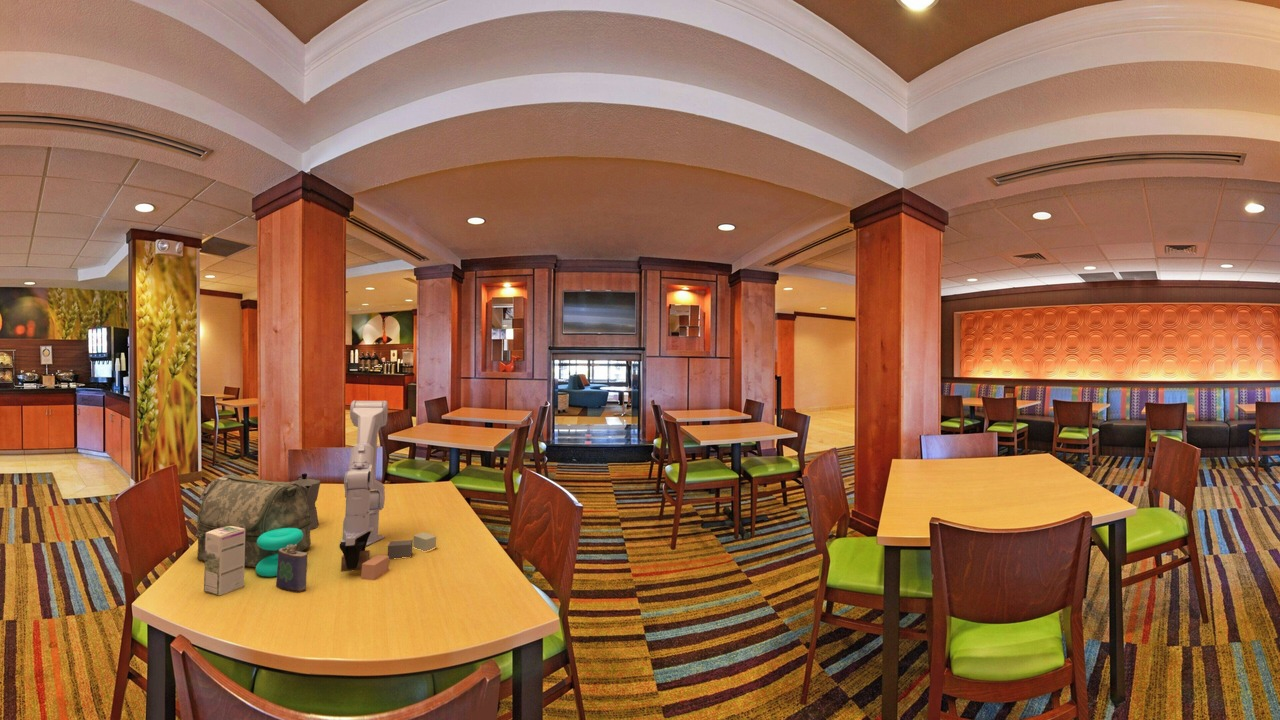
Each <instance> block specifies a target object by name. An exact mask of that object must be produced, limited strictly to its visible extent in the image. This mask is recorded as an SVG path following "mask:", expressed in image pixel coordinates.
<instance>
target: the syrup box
mask: <svg viewBox="0 0 1280 720" xmlns="http://www.w3.org/2000/svg"><path fill="white" fill-rule="evenodd" d="M244 565H245V529H244V528H240V527H235V526H225V527H221V528H218V529H214V530H211V531H209V532H206V538H205V561H204V572H203V573H204V575H203V578H204V579H203V580H204V581H203V592H206V593H209V594H213V595H216V596H222V595H225V594H227V593H231V592H233V591H236V590H238V589H240V588H243V587H245V566H244Z"/></svg>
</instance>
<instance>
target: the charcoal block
mask: <svg viewBox="0 0 1280 720" xmlns="http://www.w3.org/2000/svg"><path fill="white" fill-rule="evenodd" d="M411 554H412V555H413V540H412V539H408V540H393V541H389V543H388V545H387V555H386V556H389V559H390V560H395V559H394V558H402V557H410V556H411V557H412V555H411ZM411 557H410V558H411ZM402 559H403V558H402Z"/></svg>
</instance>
